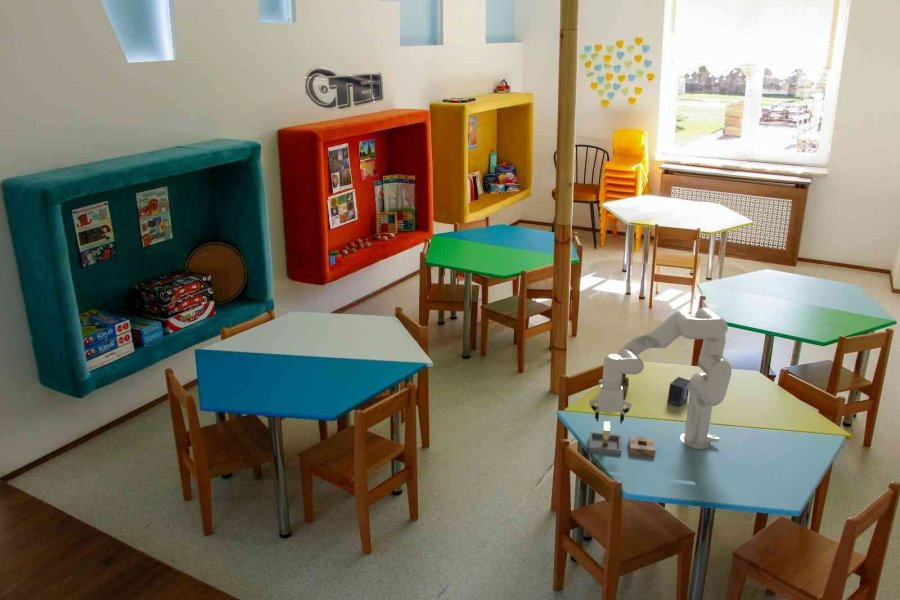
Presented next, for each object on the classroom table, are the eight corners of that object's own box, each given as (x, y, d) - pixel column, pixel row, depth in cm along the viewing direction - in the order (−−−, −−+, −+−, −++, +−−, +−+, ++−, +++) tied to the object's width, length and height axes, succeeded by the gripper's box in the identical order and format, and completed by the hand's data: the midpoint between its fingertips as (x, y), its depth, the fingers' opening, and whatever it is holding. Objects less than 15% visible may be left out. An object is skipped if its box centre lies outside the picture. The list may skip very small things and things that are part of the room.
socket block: (652, 447, 328) (653, 438, 326) (654, 459, 318) (655, 450, 317) (628, 444, 329) (629, 435, 328) (629, 456, 320) (630, 447, 319)
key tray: (620, 441, 331) (620, 435, 330) (620, 457, 319) (621, 450, 318) (589, 438, 334) (589, 431, 333) (588, 453, 321) (589, 447, 320)
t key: (608, 450, 322) (609, 430, 319) (602, 449, 323) (603, 430, 320) (608, 440, 330) (610, 421, 327) (602, 440, 330) (604, 421, 327)
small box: (679, 407, 363) (682, 387, 359) (666, 403, 367) (669, 383, 363) (688, 400, 371) (691, 380, 367) (675, 396, 374) (677, 376, 371)
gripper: (590, 386, 315) (587, 423, 320) (633, 389, 312) (630, 427, 317) (590, 378, 322) (588, 415, 327) (633, 381, 319) (630, 418, 324)
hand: (609, 421), depth 322 cm, fingers open, 9 cm apart
